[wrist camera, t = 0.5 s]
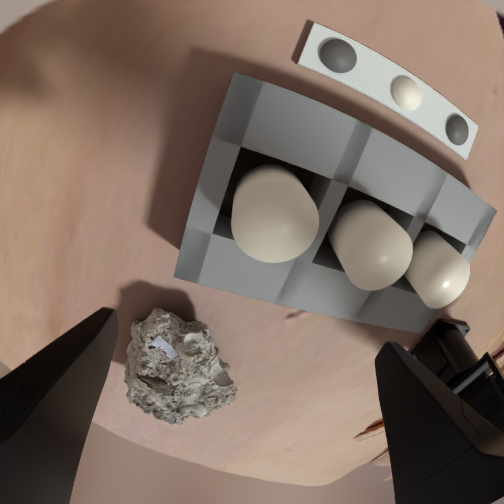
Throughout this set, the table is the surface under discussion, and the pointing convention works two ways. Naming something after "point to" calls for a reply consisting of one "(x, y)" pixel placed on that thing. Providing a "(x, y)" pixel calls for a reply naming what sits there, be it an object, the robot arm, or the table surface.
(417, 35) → the table surface
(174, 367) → the mineral specimen
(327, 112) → the button board
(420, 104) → the card
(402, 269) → the button middle
